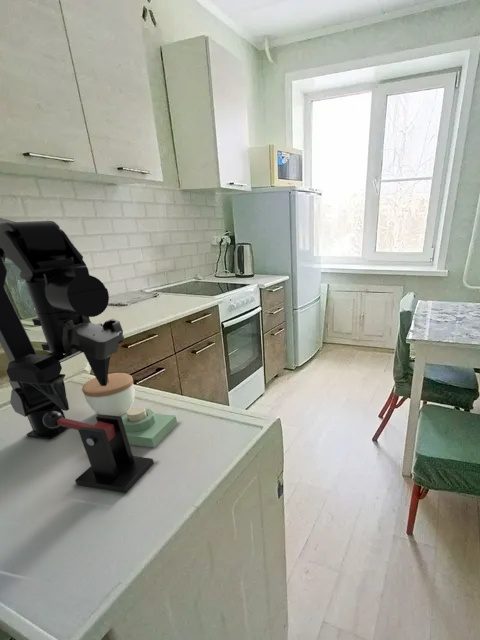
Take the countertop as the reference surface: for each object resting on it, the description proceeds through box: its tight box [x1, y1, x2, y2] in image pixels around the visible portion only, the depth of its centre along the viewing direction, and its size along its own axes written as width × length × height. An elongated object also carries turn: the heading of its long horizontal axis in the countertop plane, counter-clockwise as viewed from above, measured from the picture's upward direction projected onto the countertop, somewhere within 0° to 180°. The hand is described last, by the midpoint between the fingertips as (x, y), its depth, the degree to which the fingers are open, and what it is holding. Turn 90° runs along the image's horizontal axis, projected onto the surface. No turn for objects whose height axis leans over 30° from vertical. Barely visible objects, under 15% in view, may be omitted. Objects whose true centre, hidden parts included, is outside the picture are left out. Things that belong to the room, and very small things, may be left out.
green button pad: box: [121, 408, 178, 448], centre depth 75 cm, size 12×9×4 cm
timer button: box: [127, 405, 147, 422], centre depth 74 cm, size 4×4×2 cm
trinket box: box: [81, 372, 136, 416], centre depth 82 cm, size 11×11×9 cm
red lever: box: [43, 411, 116, 441], centre depth 60 cm, size 13×3×3 cm, turn 76°
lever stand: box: [74, 414, 155, 494], centre depth 61 cm, size 10×8×11 cm
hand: (86, 397), depth 62 cm, fingers open, 9 cm apart
